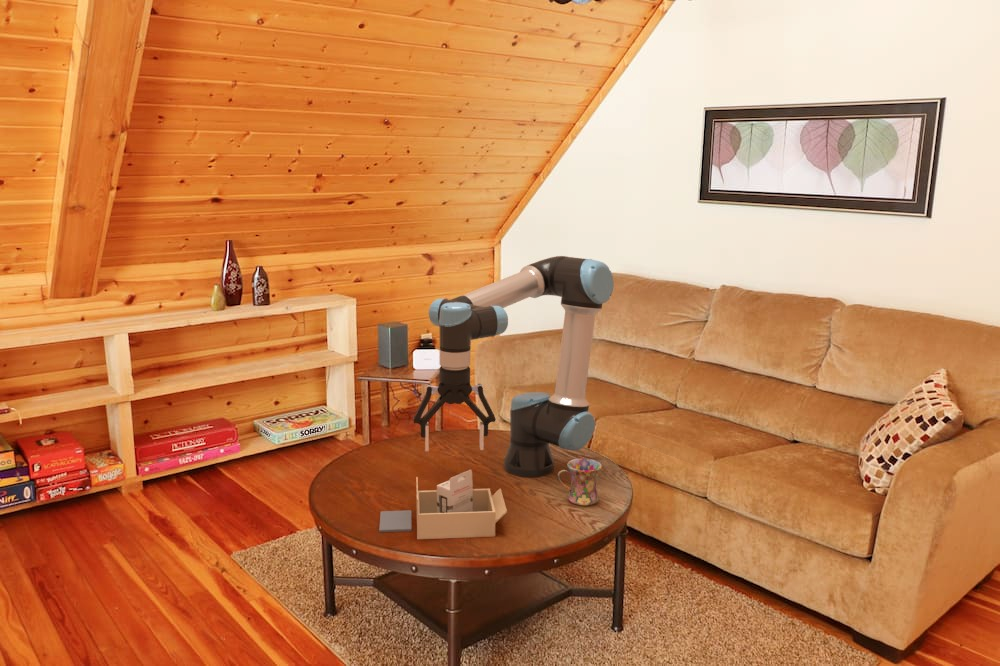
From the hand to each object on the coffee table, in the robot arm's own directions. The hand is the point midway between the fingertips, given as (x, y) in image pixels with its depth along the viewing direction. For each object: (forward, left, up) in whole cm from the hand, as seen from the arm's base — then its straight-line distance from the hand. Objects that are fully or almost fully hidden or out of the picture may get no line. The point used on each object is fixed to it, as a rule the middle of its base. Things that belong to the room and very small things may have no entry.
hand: (454, 449), depth 204 cm
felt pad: (+15, -3, -21) cm, 26 cm away
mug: (-35, -12, -21) cm, 42 cm away
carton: (-2, -2, -21) cm, 21 cm away
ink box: (0, 0, -21) cm, 21 cm away
